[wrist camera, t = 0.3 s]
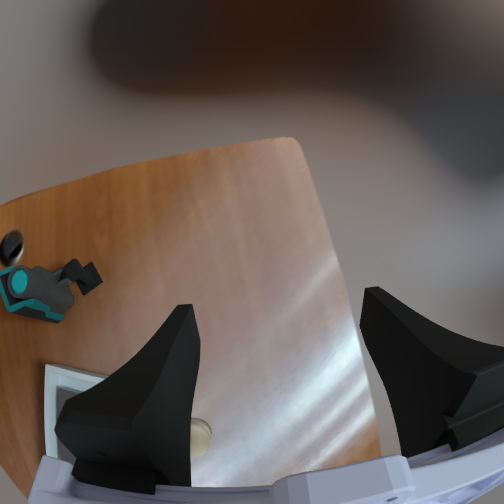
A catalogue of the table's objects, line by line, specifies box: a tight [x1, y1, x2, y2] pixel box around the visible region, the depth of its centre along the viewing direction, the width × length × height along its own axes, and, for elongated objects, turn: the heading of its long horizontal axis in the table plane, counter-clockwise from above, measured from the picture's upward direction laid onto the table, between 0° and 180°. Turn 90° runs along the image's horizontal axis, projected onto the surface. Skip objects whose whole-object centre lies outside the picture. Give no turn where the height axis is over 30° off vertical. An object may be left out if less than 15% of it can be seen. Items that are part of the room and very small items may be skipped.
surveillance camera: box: [0, 259, 103, 323], centre depth 35 cm, size 6×12×10 cm
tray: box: [44, 364, 109, 459], centre depth 33 cm, size 18×16×4 cm
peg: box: [190, 418, 212, 458], centre depth 33 cm, size 4×4×6 cm
